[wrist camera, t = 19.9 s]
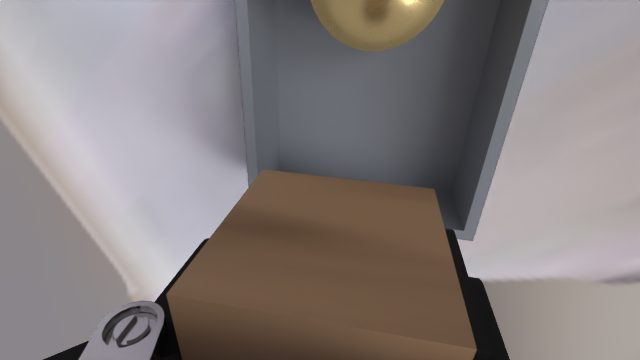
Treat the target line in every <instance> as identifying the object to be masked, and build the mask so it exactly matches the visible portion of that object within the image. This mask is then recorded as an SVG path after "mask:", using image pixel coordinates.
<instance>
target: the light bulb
mask: <svg viewBox="0 0 640 360" xmlns="http://www.w3.org/2000/svg"><path fill="white" fill-rule="evenodd" d="M310 1H311V3H312V6H313V9H314V11H315V13H316V15H317V17H318V19H319V20H320V22H321V24H322V25H323V26H324V27H325V29H326V30H327V31H328V32H329V33H330V34H331V35H332V36H333V37H334V38H336V39H337V40H339V41H340V42H341V43H343V44H345V45H347V46H349V47H352V48H355V49H359V50H364V51H382V50H387V49H391V48H394V47H397V46H400V45H402V44H404V43H406V42H408V41H409V40H411V39H412V38H414V37H415V36H417V35H418V34H419V33H420V32H421V31H422V30H424V29H425V28H426V27H427V25H428V24H429V23H430V22H431V21H432V20H433V18H434V17H435V16H436V14H437V13H438V11H439V9H440V8H441V6H442V4H443V2H444V0H310Z"/></svg>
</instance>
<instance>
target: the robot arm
mask: <svg viewBox="0 0 640 360" xmlns="http://www.w3.org/2000/svg"><path fill="white" fill-rule="evenodd" d="M445 231H446V235H447V239H448V243H449V246H450V250H451V254H452V258H453V261H454V265H455V269H456V273H457V276H458V280H459V284H460V288H461V291H462V295H463V299H464V303H465V306H466V310H467V314H468V318H469V322H470V325H471V329H472V333H473V337H474V340H475V344H476V348H477V350H476V353H475V355H474V358H473V360H510V359H509V356H508V353H507V351H506V348H505V345H504V342H503V339H502V336H501V333H500V331H499V328H498V325H497V322H496V319H495V316H494V314H493V311H492V308H491V305H490V302H489V299H488V296H487V293H486V291H485V288H484V285H483V283H482V281H481V280H480V279H479V278H473V277H468V274H467V271H466V267H465V264H464V261H463V258H462V254H461V251H460V248H459V244H458V241H457V238H456V235H455V232H454V230H453V229H445ZM208 240H209V238H208V239H205V240H204V241H203V242H202V243H201V244H200V245H199V247H198V248H197V249H196V250H195V252H194V253H193V254H192V255H191V257H190V258H189V259H188V260H187V262H186V263H185V264H184V265H183V267H182V268H181V269H180V271H179V272H178V273H177V274H176V276H175V277H174V278H173V279H172V281H171V282H170V283H169V284H168V286H167V287H166V288H165V289H164V291H163V292H162V293H161V294H160V296H159V297H158V298H157V300H156V301H155V302H152V301H137V302H132V303H129V304H127V305H123V306H121V307H119V308H118V309H116V310H114V311H112V312H111V313H110V314H109V315H108V316H106V317H105V318H104V319H103V321H102V322H101V323H100V324H99V326H98V327H97V328H96V330H95V332H94V334H93V336H92V337H91V339H90V341H87V342H85V343H82V344H80V345H78V346H75V347H72V348H70V349H68V350H65V351H63V352H60V353H58V354H56V355H53V356H51V357H48V358H46V359H44V360H182V356H181V352H180V348H179V344H178V340H177V336H176V332H175V328H174V324H173V320H172V316H171V312H170V308H169V304H168V300H167V296H166V294H167V293H168V291H169V290H170V289H171V288H172V286H173V285H174V284H175V282H176V281H177V280H178V278H179V277H180V276H181V275H182V273H183V272H184V271H185V269H186V268H187V267H188V266H189V264H190V263H191V262H192V260H193V259H194V258H195V257H196V255H197V254H198V253H199V251H200V250H201V249H202V248H203V246H204V245H205V244H206V242H207V241H208Z"/></svg>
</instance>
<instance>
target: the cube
mask: <svg viewBox="0 0 640 360" xmlns="http://www.w3.org/2000/svg"><path fill="white" fill-rule="evenodd" d="M166 296H167V300H168V304H169V308H170V312H171V316H172V320H173V324H174V328H175V332H176V336H177V340H178V344H179V348H180V352H181V356H182V360H473V358H474V355H475V353H476V350H477V348H476V344H475V340H474V337H473V333H472V329H471V325H470V322H469V318H468V314H467V310H466V306H465V303H464V299H463V295H462V291H461V288H460V284H459V280H458V276H457V273H456V269H455V265H454V261H453V258H452V254H451V250H450V246H449V243H448V239H447V235H446V231H445V228H444V224H443V220H442V216H441V213H440V209H439V205H438V201H437V198H436V194H435V190H434V189H430V188H422V187H413V186H404V185H395V184H387V183H378V182H369V181H360V180H352V179H343V178H334V177H325V176H317V175H308V174H299V173H290V172H282V171H273V170H264V169H263V170H262V171H261V173H260V174H259V175H258V177H257V178H256V179H255V180H254V182H253V183H252V184H251V186H250V187H249V188H248V189H247V191H246V192H245V193H244V195H243V196H242V197H241V199H240V200H239V201H238V202H237V204H236V205H235V206H234V208H233V209H232V210H231V211H230V213H229V214H228V215H227V217H226V218H225V219H224V220H223V222H222V223H221V224H220V226H219V227H218V228H217V229H216V231H215V232H214V233H213V235H212V236H211V237H210V239H209V240H208V241H207V242H206V244H205V245H204V246H203V248H202V249H201V250H200V251H199V253H198V254H197V255H196V257H195V258H194V259H193V260H192V262H191V263H190V264H189V266H188V267H187V268H186V269H185V271H184V272H183V273H182V275H181V276H180V277H179V278H178V280H177V281H176V282H175V284H174V285H173V286H172V288H171V289H170V290H169V291H168V293H167V294H166Z"/></svg>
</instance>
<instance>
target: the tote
mask: <svg viewBox="0 0 640 360" xmlns="http://www.w3.org/2000/svg"><path fill="white" fill-rule="evenodd" d="M548 1H549V0H444V2H443V4H442V6H441V8H440V9H439V11H438V13H437V14H436V16H435V17H434V18H433V20H432V21H431V22H430V23H429V24H428V25H427V27H426V28H425V29H424V30H422V31H421V32H420V33H419V34H418V35H417V36H415V37H414V38H412V39H411V40H409V41H408V42H406V43H404V44H402V45H400V46H397V47H394V48H391V49H387V50H382V51H364V50H359V49H355V48H352V47H349V46H347V45H345V44H343V43H341V42H340V41H339V40H337V39H336V38H334V37H333V36H332V35H331V34H330V33H329V32H328V31H327V30H326V29H325V27H324V26H323V25H322V24H321V22H320V20H319V19H318V17H317V15H316V13H315V11H314V9H313V6H312V3H311V1H310V0H235V11H236V25H237V38H238V51H239V65H240V78H241V91H242V105H243V118H244V131H245V145H246V158H247V172H248V185H249V187H250V186H251V184H252V183H253V182H254V180H255V179H256V178H257V177H258V175H259V174H260V173H261V171H262V170H263V169H264V170H273V171H282V172H290V173H299V174H308V175H317V176H325V177H334V178H343V179H352V180H360V181H369V182H378V183H387V184H395V185H404V186H413V187H422V188H430V189H434V190H435V194H436V198H437V201H438V205H439V209H440V213H441V216H442V220H443V224H444V228H445V229H453V230H454V232H455V235H456V238H457V239H462V240H469V241H473V238H474V235H475V232H476V229H477V226H478V223H479V219H480V216H481V213H482V210H483V207H484V204H485V200H486V197H487V194H488V191H489V188H490V185H491V181H492V178H493V175H494V172H495V169H496V166H497V162H498V159H499V156H500V153H501V150H502V146H503V143H504V140H505V137H506V134H507V131H508V127H509V124H510V121H511V118H512V115H513V112H514V108H515V105H516V102H517V99H518V96H519V93H520V89H521V86H522V83H523V80H524V77H525V74H526V70H527V67H528V64H529V61H530V58H531V55H532V51H533V48H534V45H535V42H536V39H537V36H538V32H539V29H540V26H541V23H542V20H543V17H544V13H545V10H546V7H547V4H548Z"/></svg>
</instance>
